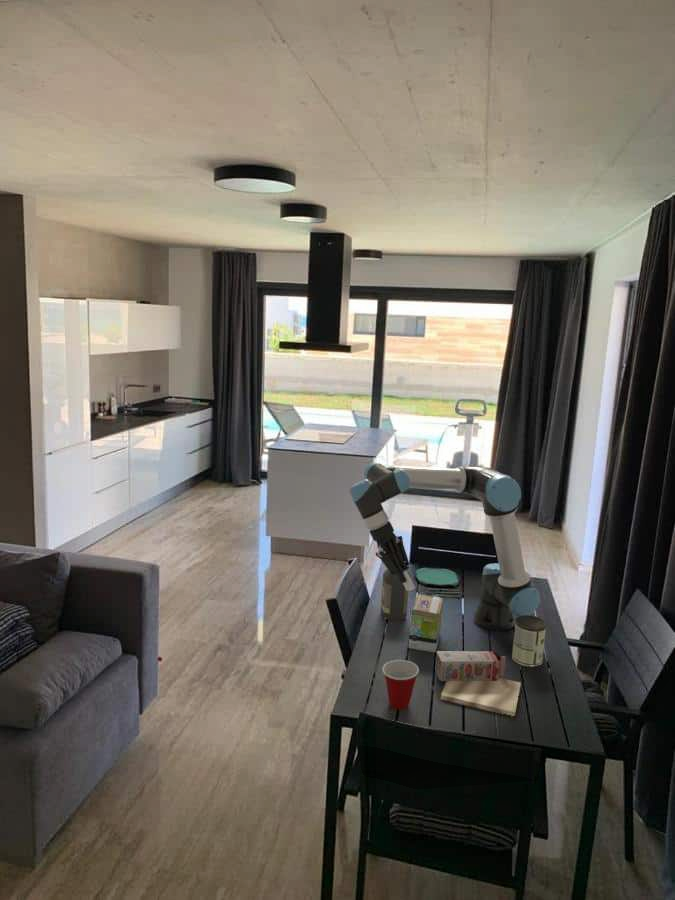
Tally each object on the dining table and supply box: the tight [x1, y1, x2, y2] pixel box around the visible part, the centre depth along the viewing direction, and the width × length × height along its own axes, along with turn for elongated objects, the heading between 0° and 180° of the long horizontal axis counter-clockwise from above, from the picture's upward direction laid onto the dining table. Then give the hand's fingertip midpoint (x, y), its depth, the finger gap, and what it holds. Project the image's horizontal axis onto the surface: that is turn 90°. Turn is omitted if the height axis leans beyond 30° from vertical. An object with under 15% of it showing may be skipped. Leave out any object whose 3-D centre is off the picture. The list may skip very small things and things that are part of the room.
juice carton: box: [434, 650, 507, 682], centre depth 215 cm, size 7×7×22 cm
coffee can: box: [511, 615, 548, 668], centre depth 230 cm, size 10×10×14 cm
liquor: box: [380, 568, 409, 621], centre depth 257 cm, size 9×9×30 cm
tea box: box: [408, 593, 444, 653], centre depth 239 cm, size 15×10×15 cm, turn 166°
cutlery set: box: [414, 567, 462, 599], centre depth 295 cm, size 20×30×2 cm, turn 178°
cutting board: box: [440, 677, 522, 717], centre depth 208 cm, size 22×18×2 cm
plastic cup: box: [382, 659, 420, 711], centre depth 199 cm, size 11×11×12 cm
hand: (410, 589), depth 219 cm, fingers closed
